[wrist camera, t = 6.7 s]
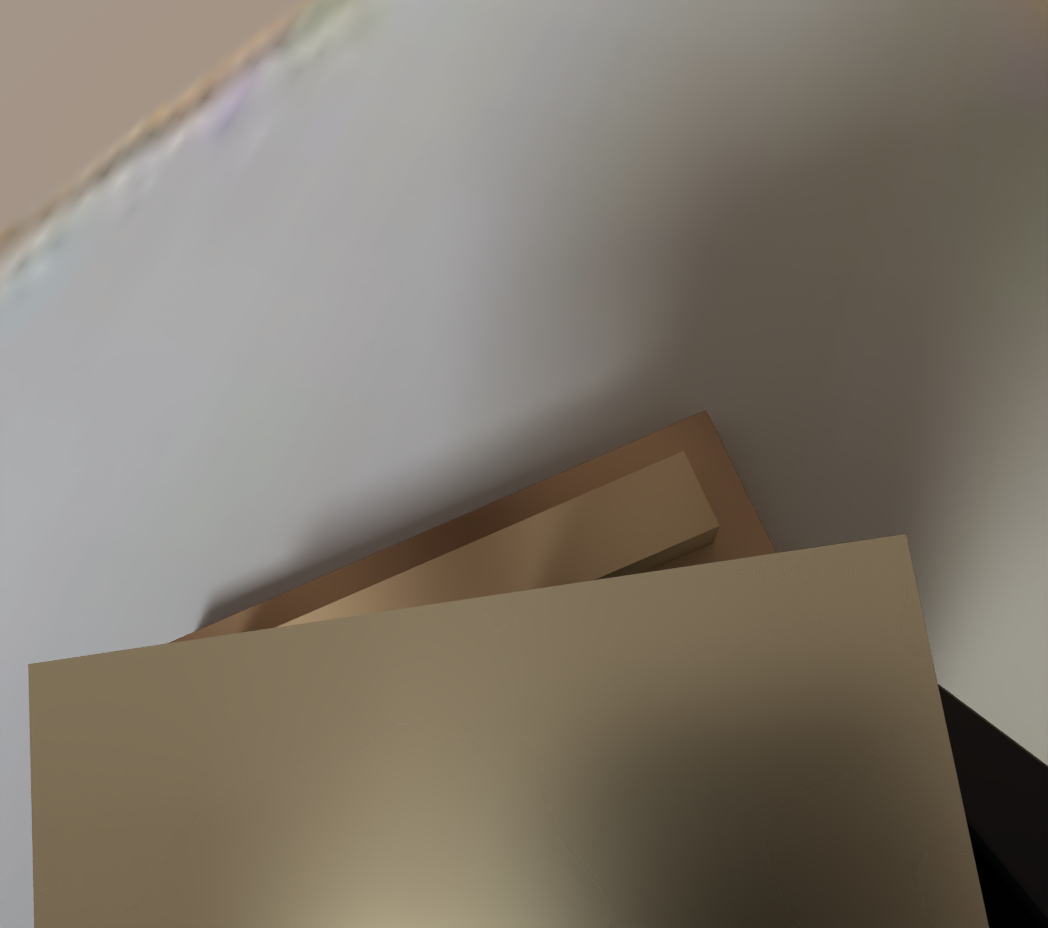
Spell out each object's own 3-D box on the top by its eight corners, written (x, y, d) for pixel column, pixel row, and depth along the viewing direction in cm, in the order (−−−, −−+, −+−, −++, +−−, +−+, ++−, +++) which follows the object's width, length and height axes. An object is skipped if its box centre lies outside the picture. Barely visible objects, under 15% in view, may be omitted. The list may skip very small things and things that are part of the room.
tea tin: (867, 914, 16) (1182, 1836, 4) (567, 934, 17) (50, 1695, 5) (809, 604, 17) (907, 533, 5) (530, 643, 18) (27, 665, 6)
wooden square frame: (392, 1337, 17) (327, 1493, 14) (185, 648, 21) (94, 636, 17) (1023, 1078, 17) (1117, 1171, 13) (703, 424, 20) (713, 367, 17)
